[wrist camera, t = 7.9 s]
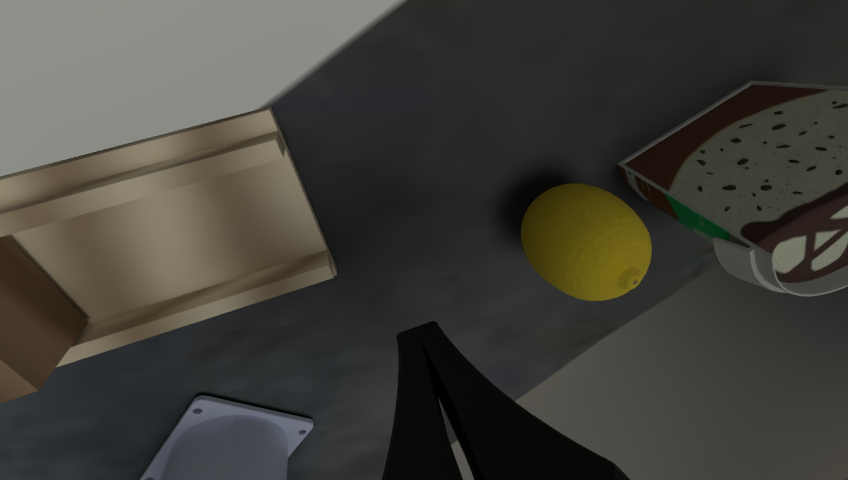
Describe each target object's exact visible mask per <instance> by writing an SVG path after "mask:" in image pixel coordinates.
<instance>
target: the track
mask: <svg viewBox="0 0 848 480" xmlns="http://www.w3.org/2000/svg"><path fill="white" fill-rule="evenodd" d="M3 236H7V237H8V238H9V239H10V240H11V241H12V242H13V243H14V244H15V245H16V246H17V247H18V248H19V250H20V251H21V252H22V253H23V254H24V255H25V256H26V257H27V258H28V259H29V260H30V261H31V262H32V263H33V264H34V265H35V266H36V267H37V268H38V269H39V270H40V271H41V273H42V274H43V275H44V276H45V277H46V278H47V279H48V280H49V281H50V282H51V283H52V284H53V285H54V286H55V287H56V288H57V289H58V290H59V291H60V292H61V293H62V295H63V296H64V297H65V298H66V299H67V300H68V301H69V302H70V303H71V304H72V305H73V306H74V307H75V308H76V309H77V310H78V311H79V312H80V313H81V314H82V315H83V317H84V318H85V319H86V320H87V321H88V324H87V325H86V327H85V328H84V329H83V331H82V332H81V333H80V335H79V336H78V337H77V339H76V340H75V342H74V343H73V344H72V346H71V347H70V348H69V350H68V351H67V353H66V354H65V355H64V357H63V358H62V359H61V361H60V362H59V364H58V365H57V366H56V367H59V366H62V365H65V364H68V363H72V362H75V361H78V360H81V359H84V358H87V357H90V356H93V355H96V354H99V353H103V352H106V351H109V350H112V349H115V348H118V347H121V346H124V345H127V344H130V343H134V342H137V341H140V340H143V339H146V338H149V337H152V336H155V335H158V334H161V333H164V332H168V331H171V330H174V329H177V328H180V327H183V326H186V325H189V324H192V323H195V322H199V321H202V320H205V319H208V318H211V317H214V316H217V315H220V314H223V313H226V312H230V311H233V310H236V309H239V308H242V307H245V306H248V305H251V304H254V303H257V302H261V301H264V300H267V299H270V298H273V297H276V296H279V295H282V294H285V293H288V292H292V291H295V290H298V289H301V288H304V287H307V286H310V285H313V284H316V283H319V282H322V281H326V280H329V279H332V278H334V276H336V275H337V268H336V265H335V263H334V260H333V258H332V255H331V253H330V250H329V248H328V245H327V243H326V240H325V238H324V236H323V233H322V231H321V228H320V226H319V223H318V221H317V218H316V216H315V213H314V211H313V209H312V206H311V204H310V201H309V199H308V196H307V194H306V191H305V189H304V186H303V184H302V182H301V179H300V177H299V174H298V172H297V169H296V167H295V164H294V162H293V159H292V157H291V155H290V152H289V150H288V147H287V145H286V142H285V140H284V137H283V135H282V132H281V130H280V128H279V125H278V123H277V120H276V118H275V115H274V113H273V110H272V108H271V106H270V107H266V108H263V109H259V110H255V111H251V112H247V113H244V114H240V115H236V116H232V117H228V118H224V119H220V120H217V121H213V122H209V123H205V124H201V125H197V126H193V127H190V128H186V129H182V130H178V131H174V132H171V133H167V134H163V135H159V136H155V137H151V138H147V139H143V140H139V141H136V142H132V143H128V144H124V145H120V146H116V147H113V148H109V149H105V150H102V151H97V152H94V153H90V154H86V155H82V156H78V157H74V158H70V159H67V160H63V161H59V162H55V163H51V164H47V165H43V166H39V167H36V168H32V169H28V170H24V171H20V172H17V173H13V174H9V175H5V176H1V177H0V237H3Z"/></svg>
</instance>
